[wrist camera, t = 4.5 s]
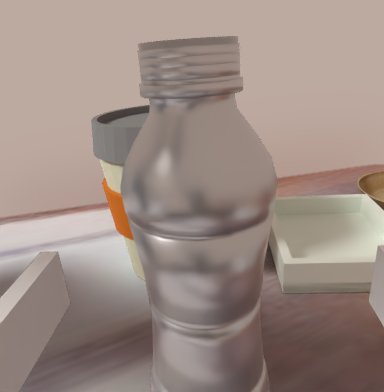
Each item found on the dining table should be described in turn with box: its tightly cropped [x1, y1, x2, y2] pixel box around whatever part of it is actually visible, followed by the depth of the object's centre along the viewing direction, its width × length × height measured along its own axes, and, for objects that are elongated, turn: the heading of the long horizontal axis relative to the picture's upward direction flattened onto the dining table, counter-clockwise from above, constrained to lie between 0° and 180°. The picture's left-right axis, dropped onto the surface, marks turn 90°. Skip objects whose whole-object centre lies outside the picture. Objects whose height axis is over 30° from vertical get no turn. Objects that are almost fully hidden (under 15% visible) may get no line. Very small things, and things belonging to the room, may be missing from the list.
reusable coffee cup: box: [92, 105, 150, 281], centre depth 33 cm, size 13×13×15 cm
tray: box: [268, 194, 384, 293], centre depth 35 cm, size 12×14×3 cm
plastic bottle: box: [120, 36, 278, 392], centre depth 16 cm, size 6×7×20 cm
